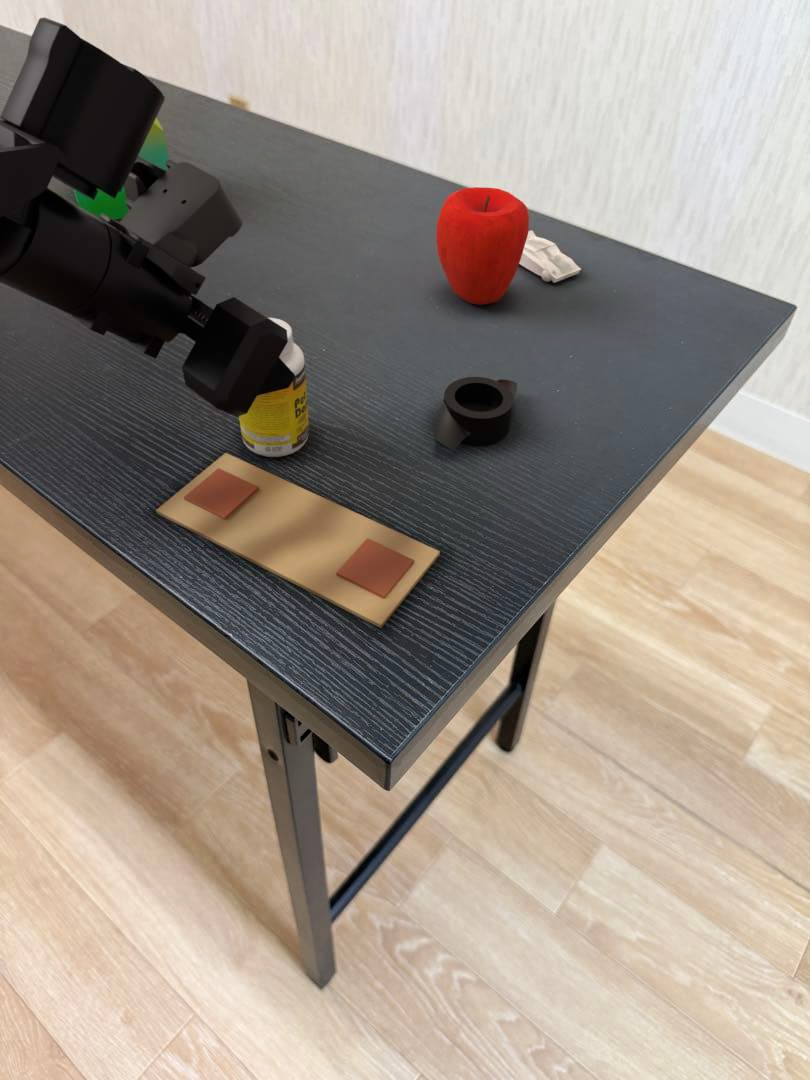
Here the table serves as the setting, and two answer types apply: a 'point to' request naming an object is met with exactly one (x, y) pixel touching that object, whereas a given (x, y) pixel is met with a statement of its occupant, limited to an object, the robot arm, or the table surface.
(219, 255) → the table surface
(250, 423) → the supplement bottle
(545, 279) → the toy car
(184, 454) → the table surface
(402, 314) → the table surface
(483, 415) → the black hollow round piece
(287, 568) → the wood board
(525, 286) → the table surface
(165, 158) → the yellow-green faceted fruit
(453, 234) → the apple
